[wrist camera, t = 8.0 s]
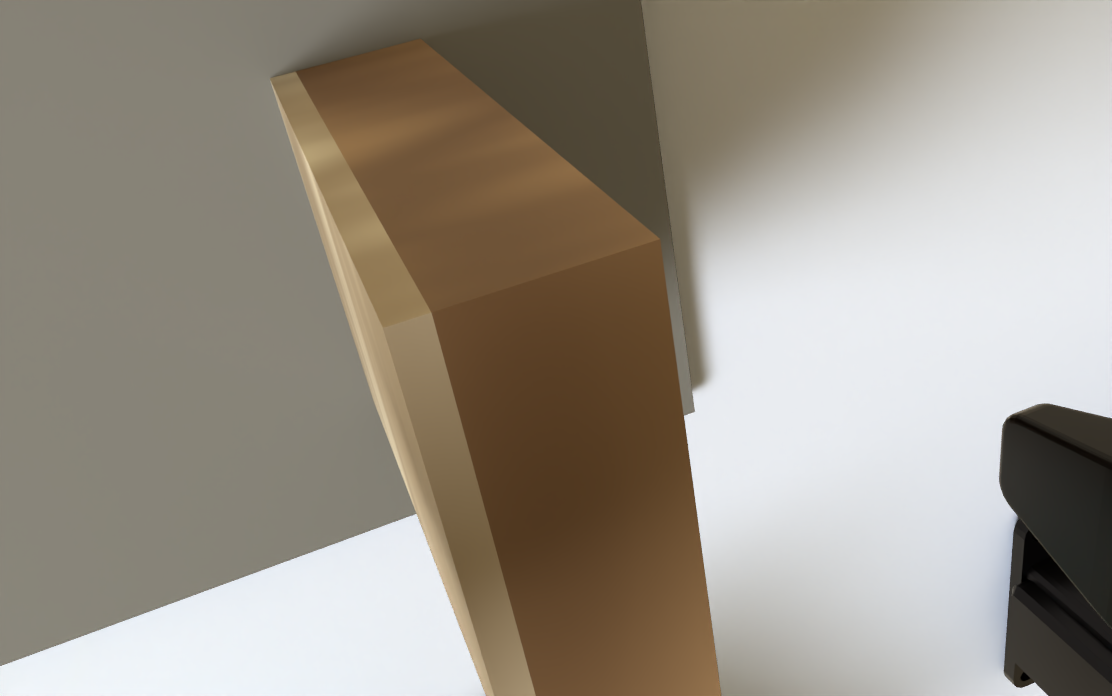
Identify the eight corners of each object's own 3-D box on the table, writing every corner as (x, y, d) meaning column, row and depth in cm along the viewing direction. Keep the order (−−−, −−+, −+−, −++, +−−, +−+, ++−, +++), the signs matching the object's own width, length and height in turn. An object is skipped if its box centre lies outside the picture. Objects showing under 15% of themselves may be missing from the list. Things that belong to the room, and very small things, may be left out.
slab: (420, 38, 16) (660, 239, 9) (497, 358, 19) (723, 713, 12) (269, 78, 16) (382, 327, 8) (373, 400, 19) (526, 799, 11)
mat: (603, -172, 16) (618, -172, 16) (681, 397, 22) (694, 411, 21) (-561, 100, 13) (-590, 112, 12) (-115, 686, 19) (-122, 710, 18)
